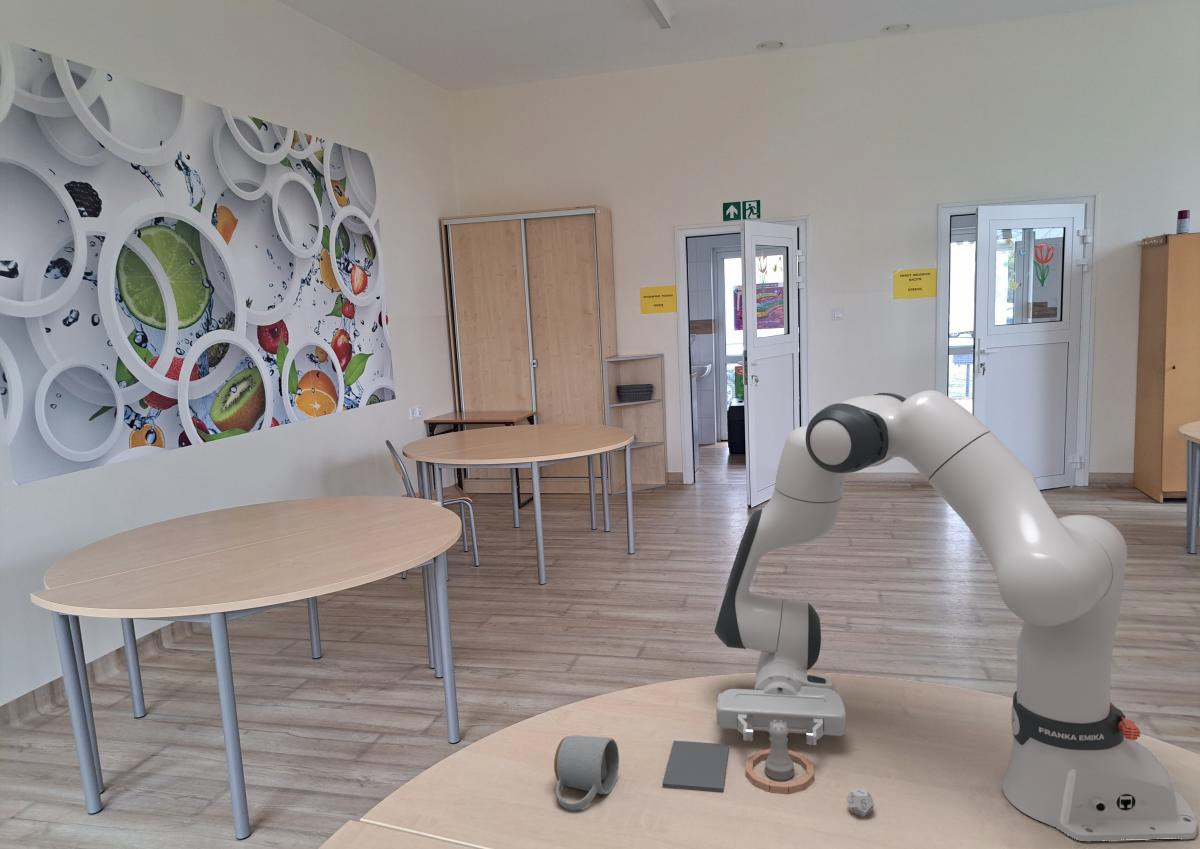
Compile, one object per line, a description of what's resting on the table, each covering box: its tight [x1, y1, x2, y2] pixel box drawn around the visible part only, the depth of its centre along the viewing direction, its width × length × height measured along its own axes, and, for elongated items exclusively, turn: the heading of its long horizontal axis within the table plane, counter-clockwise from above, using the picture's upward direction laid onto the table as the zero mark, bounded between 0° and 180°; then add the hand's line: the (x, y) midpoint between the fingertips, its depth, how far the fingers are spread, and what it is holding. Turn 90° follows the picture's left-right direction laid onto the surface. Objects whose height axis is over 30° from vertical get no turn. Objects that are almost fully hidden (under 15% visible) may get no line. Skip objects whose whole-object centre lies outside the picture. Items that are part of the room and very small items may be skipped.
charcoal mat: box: [661, 740, 730, 793], centre depth 124 cm, size 9×12×1 cm
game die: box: [846, 786, 875, 818], centre depth 111 cm, size 4×4×3 cm
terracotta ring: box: [745, 748, 815, 794], centre depth 121 cm, size 10×10×1 cm
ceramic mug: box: [553, 735, 620, 811], centre depth 119 cm, size 11×8×8 cm
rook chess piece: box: [764, 720, 795, 782], centre depth 121 cm, size 4×4×8 cm
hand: (779, 738), depth 122 cm, fingers open, 8 cm apart
